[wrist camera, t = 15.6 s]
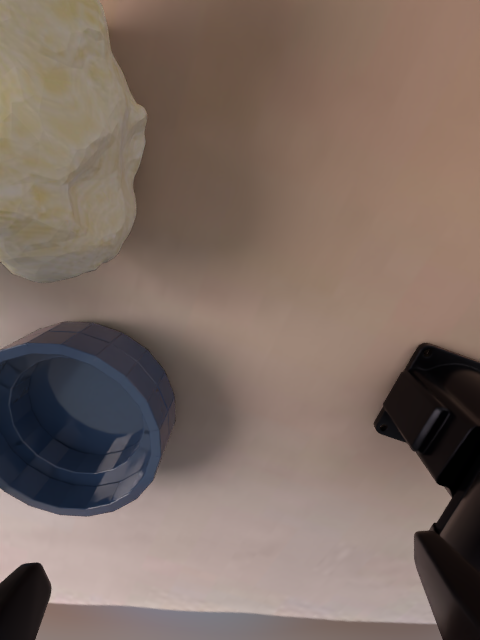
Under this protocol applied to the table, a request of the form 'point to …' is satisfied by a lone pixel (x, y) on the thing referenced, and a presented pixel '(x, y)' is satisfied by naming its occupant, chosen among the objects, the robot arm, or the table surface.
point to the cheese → (64, 140)
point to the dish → (81, 418)
